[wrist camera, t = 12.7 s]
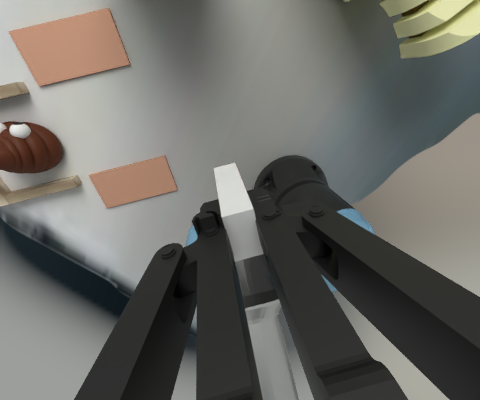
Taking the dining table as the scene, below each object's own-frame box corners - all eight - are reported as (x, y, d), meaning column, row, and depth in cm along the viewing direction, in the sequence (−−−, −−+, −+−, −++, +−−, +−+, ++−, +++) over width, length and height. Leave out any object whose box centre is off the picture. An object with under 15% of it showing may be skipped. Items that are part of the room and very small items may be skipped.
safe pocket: (81, 182, 45) (76, 186, 43) (8, 201, 44) (0, 206, 43) (23, 82, 37) (14, 82, 35) (-67, 103, 36) (-81, 105, 35)
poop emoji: (6, 167, 42) (-41, 190, 34) (-13, 115, 38) (-71, 127, 30) (70, 169, 44) (40, 191, 35) (58, 119, 40) (21, 131, 32)
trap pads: (177, 189, 48) (177, 189, 48) (107, 207, 48) (106, 208, 47) (109, 8, 35) (108, 8, 34) (10, 31, 34) (8, 31, 34)
